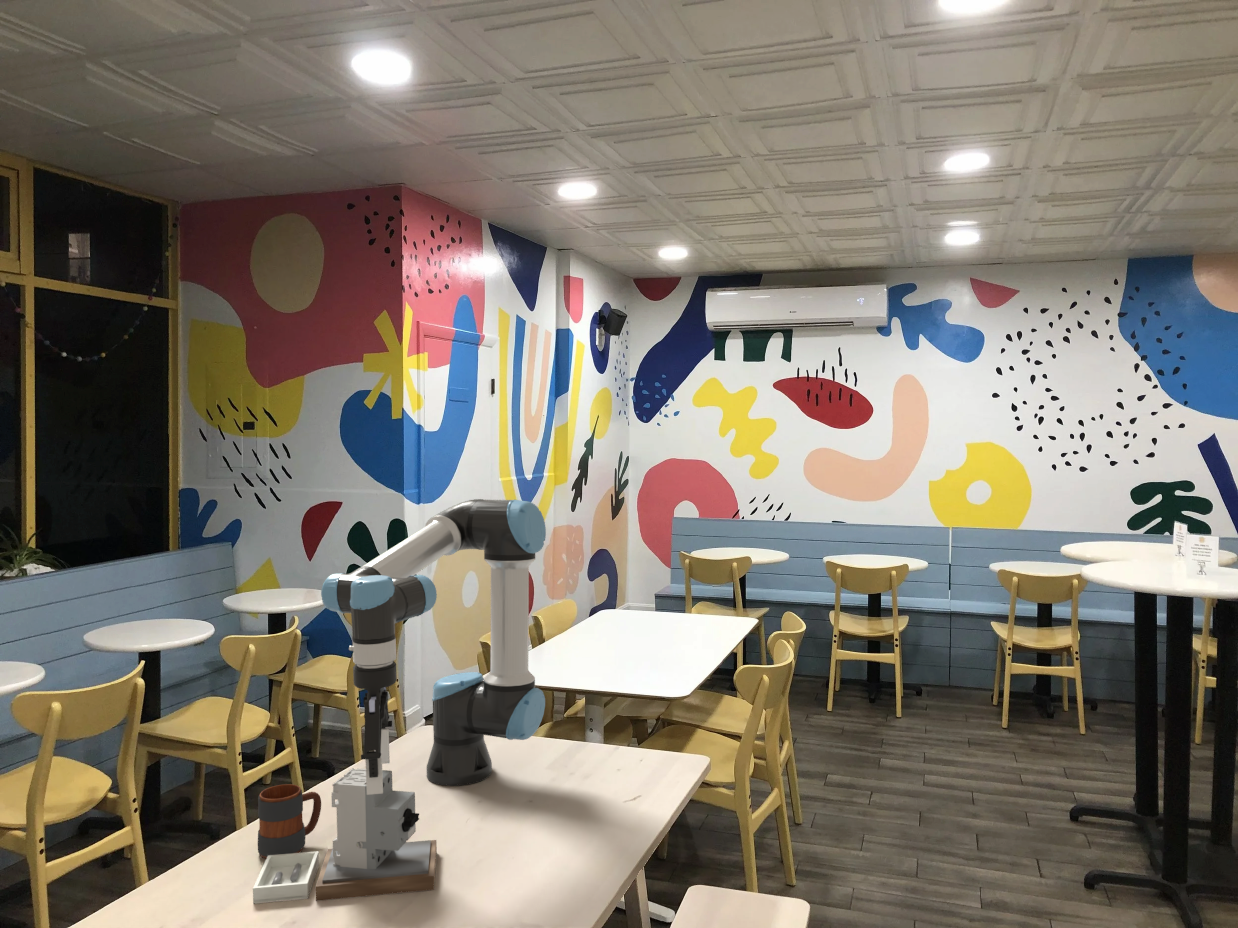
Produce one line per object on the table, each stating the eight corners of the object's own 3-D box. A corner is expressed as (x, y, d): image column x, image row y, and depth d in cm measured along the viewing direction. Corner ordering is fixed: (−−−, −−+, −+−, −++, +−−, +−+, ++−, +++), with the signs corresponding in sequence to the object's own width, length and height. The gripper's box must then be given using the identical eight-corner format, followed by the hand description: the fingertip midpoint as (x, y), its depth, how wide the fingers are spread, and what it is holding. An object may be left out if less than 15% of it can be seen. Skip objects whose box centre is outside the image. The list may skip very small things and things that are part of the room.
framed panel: (328, 861, 169) (327, 846, 169) (436, 852, 173) (436, 837, 172) (315, 900, 155) (315, 883, 155) (433, 889, 159) (433, 872, 159)
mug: (328, 848, 175) (327, 789, 174) (264, 866, 168) (262, 804, 167) (315, 832, 182) (314, 775, 181) (253, 848, 175) (251, 789, 174)
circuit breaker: (407, 872, 159) (406, 788, 158) (333, 865, 161) (331, 783, 161) (424, 852, 166) (423, 772, 166) (352, 846, 169) (351, 767, 168)
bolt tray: (268, 869, 166) (268, 855, 166) (319, 865, 168) (318, 850, 168) (253, 903, 155) (252, 888, 155) (307, 898, 156) (307, 883, 156)
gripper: (361, 645, 174) (365, 753, 175) (343, 684, 149) (348, 809, 151) (401, 643, 175) (404, 750, 176) (390, 681, 151) (394, 805, 152)
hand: (378, 777), depth 164 cm, fingers open, 13 cm apart
